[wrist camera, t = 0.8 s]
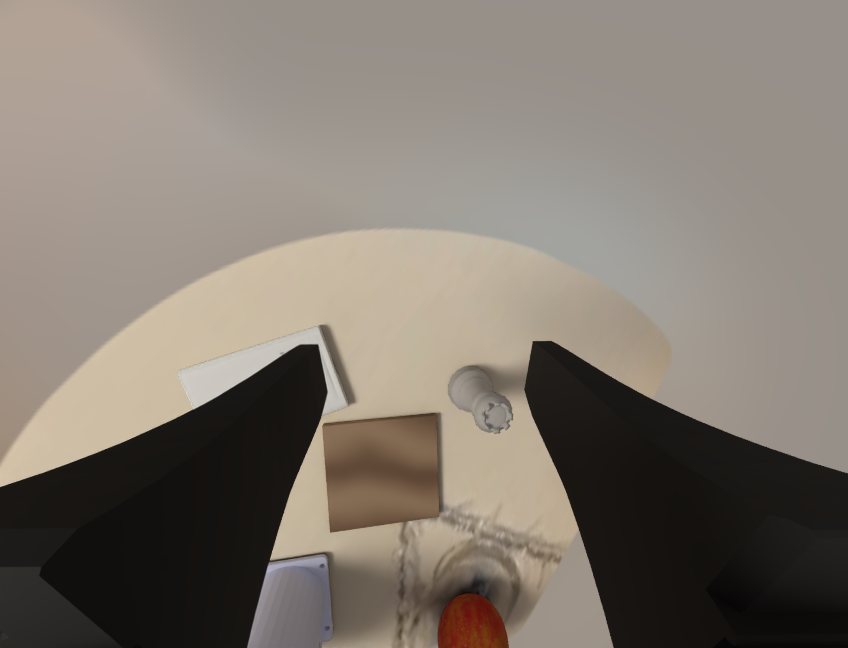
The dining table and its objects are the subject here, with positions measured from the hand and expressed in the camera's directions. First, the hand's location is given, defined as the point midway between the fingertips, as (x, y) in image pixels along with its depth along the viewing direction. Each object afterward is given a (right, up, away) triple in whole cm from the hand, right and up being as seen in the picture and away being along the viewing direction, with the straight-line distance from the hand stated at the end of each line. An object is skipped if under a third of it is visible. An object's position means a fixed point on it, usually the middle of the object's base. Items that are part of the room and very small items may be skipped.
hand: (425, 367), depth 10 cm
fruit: (+4, -30, +24) cm, 39 cm away
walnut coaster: (-4, -13, +21) cm, 25 cm away
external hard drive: (-15, -4, +19) cm, 24 cm away
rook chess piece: (+4, -5, +21) cm, 22 cm away
